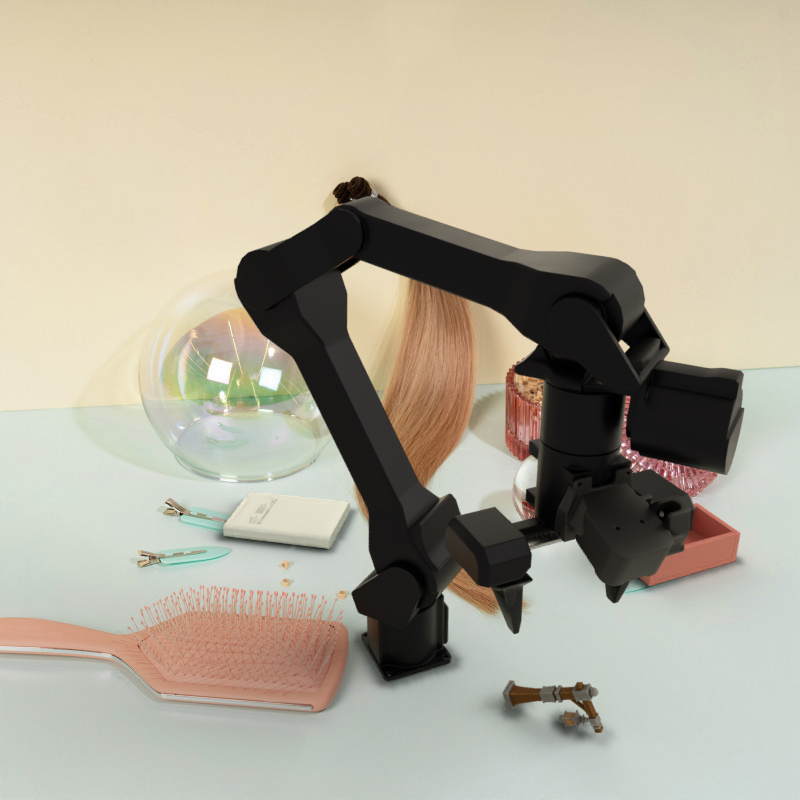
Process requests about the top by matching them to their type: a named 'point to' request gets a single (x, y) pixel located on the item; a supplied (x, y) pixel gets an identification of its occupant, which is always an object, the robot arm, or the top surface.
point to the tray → (700, 548)
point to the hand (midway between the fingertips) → (563, 615)
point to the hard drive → (288, 519)
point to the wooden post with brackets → (553, 694)
